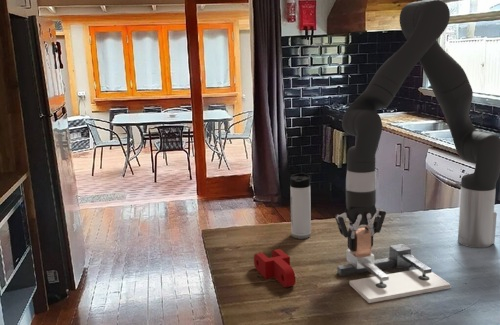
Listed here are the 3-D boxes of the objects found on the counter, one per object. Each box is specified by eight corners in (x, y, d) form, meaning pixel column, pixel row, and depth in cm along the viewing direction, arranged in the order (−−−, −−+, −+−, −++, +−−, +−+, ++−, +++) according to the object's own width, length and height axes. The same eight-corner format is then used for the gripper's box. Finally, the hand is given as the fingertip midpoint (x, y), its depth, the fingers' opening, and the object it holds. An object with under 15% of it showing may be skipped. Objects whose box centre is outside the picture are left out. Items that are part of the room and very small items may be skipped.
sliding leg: (363, 260, 134) (363, 226, 132) (393, 284, 120) (394, 247, 118) (346, 262, 133) (346, 228, 131) (375, 288, 119) (376, 250, 116)
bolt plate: (425, 271, 130) (425, 267, 129) (450, 288, 120) (450, 283, 120) (349, 284, 124) (349, 280, 124) (369, 303, 115) (369, 298, 114)
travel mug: (312, 232, 160) (312, 173, 156) (308, 239, 154) (307, 178, 150) (294, 231, 162) (293, 172, 158) (289, 238, 156) (287, 177, 152)
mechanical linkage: (254, 268, 136) (253, 251, 135) (277, 263, 139) (277, 246, 138) (278, 292, 122) (277, 274, 121) (304, 286, 124) (303, 268, 123)
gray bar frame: (408, 259, 137) (408, 242, 136) (441, 281, 123) (442, 263, 122) (335, 271, 132) (335, 253, 131) (361, 296, 118) (362, 276, 117)
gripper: (378, 180, 131) (377, 240, 135) (329, 186, 128) (329, 248, 132) (393, 187, 124) (391, 250, 128) (341, 193, 121) (341, 258, 125)
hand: (360, 249), depth 130 cm, fingers closed on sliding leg, 4 cm apart
